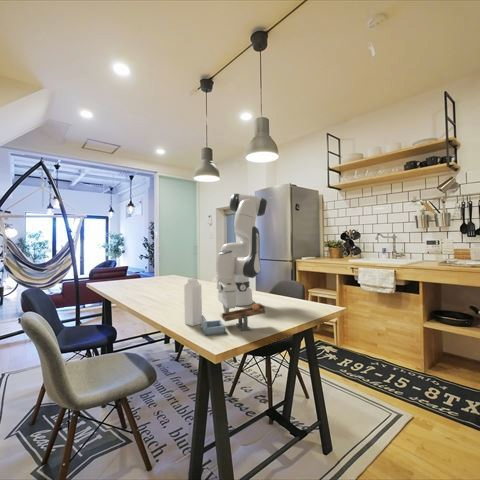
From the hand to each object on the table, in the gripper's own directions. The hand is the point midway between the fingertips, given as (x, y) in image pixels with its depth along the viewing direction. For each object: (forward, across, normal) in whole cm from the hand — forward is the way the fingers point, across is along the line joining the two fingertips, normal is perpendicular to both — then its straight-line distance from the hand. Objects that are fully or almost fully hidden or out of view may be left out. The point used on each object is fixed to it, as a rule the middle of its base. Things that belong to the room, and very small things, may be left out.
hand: (226, 313), depth 130 cm
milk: (+6, -9, -14) cm, 18 cm away
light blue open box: (+6, +6, -8) cm, 11 cm away
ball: (-3, +6, +13) cm, 14 cm away
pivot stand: (+6, +6, +6) cm, 10 cm away
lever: (+1, +3, +7) cm, 8 cm away
